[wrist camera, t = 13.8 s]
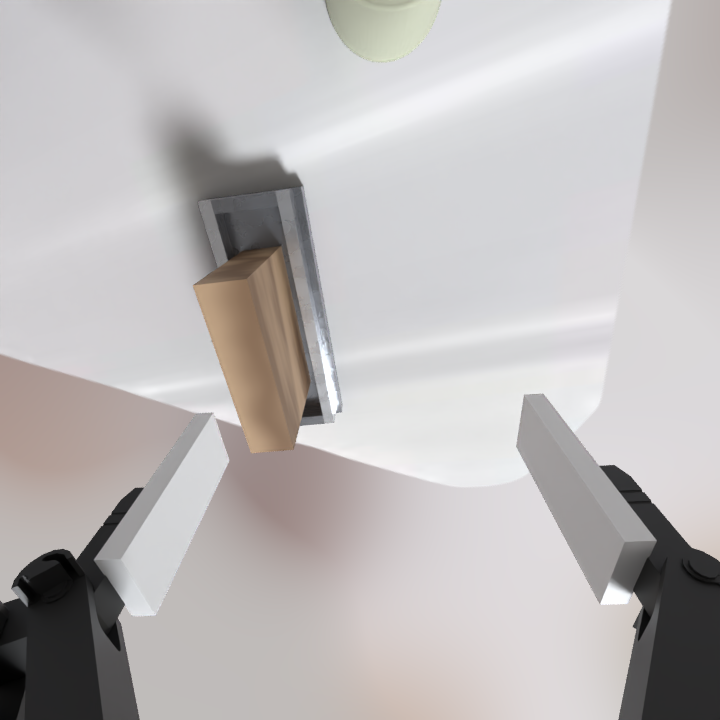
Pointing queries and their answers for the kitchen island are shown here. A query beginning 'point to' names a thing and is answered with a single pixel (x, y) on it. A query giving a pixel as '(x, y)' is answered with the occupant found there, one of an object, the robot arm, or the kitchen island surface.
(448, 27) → the kitchen island surface
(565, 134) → the kitchen island surface
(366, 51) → the can
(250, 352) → the door panel
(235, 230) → the door track
